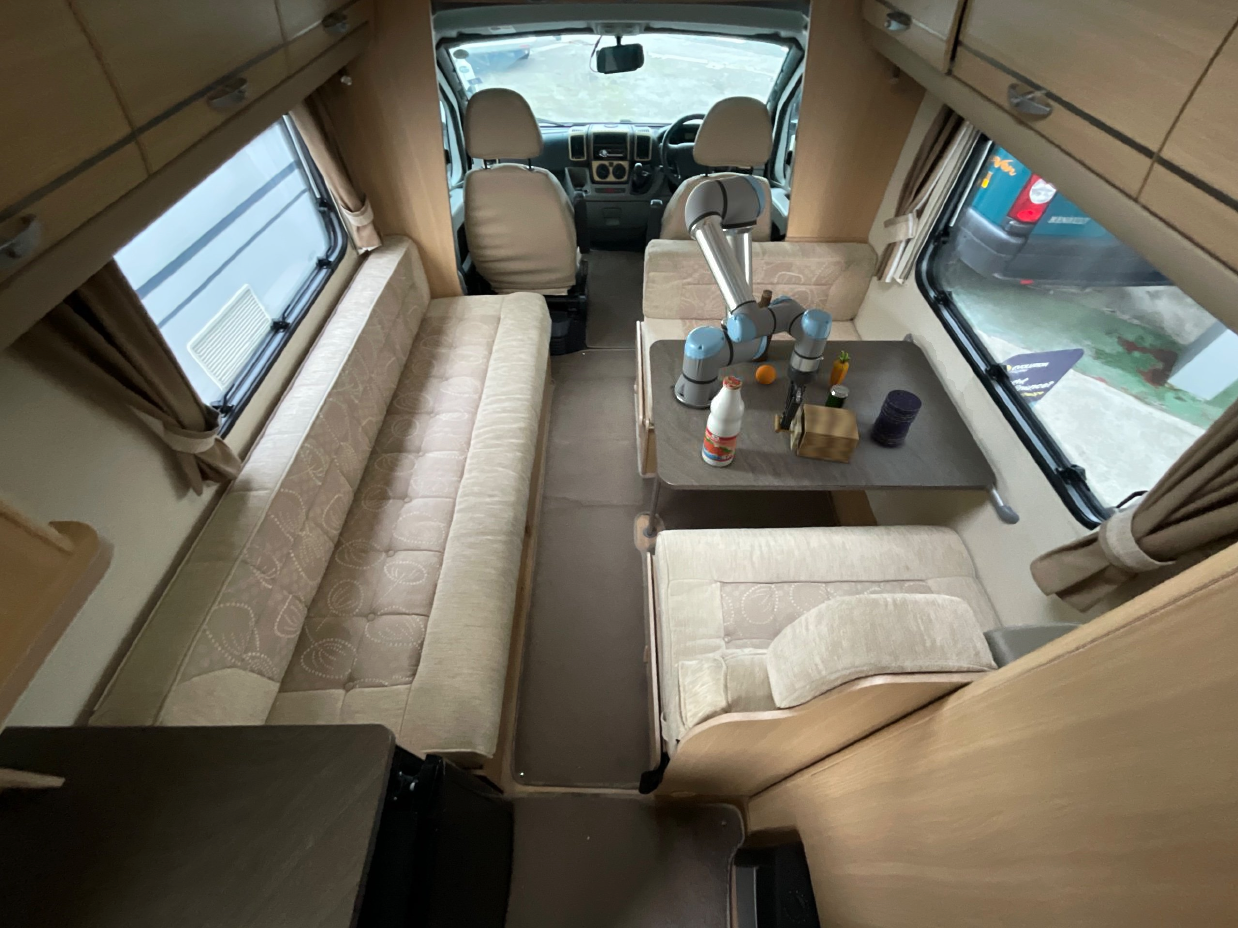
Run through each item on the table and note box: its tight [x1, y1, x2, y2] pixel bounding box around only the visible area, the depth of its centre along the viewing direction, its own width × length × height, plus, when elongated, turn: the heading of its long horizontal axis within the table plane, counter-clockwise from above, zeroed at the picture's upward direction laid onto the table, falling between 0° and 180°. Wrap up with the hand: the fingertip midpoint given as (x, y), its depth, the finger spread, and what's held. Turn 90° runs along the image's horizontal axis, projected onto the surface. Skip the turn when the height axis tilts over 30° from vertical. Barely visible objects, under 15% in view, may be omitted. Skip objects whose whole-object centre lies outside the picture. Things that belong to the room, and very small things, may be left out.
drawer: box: [774, 406, 805, 452], centre depth 168 cm, size 19×12×8 cm, turn 79°
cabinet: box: [796, 403, 860, 464], centre depth 167 cm, size 15×13×10 cm
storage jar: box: [869, 389, 923, 449], centre depth 168 cm, size 10×10×15 cm
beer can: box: [824, 384, 849, 409], centre depth 175 cm, size 5×5×12 cm
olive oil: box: [750, 289, 773, 363], centre depth 194 cm, size 11×11×25 cm
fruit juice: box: [701, 375, 745, 468], centre depth 156 cm, size 9×9×28 cm
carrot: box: [829, 350, 851, 389], centre depth 184 cm, size 5×5×15 cm
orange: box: [755, 364, 777, 385], centre depth 190 cm, size 6×6×6 cm
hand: (784, 429), depth 169 cm, fingers closed
